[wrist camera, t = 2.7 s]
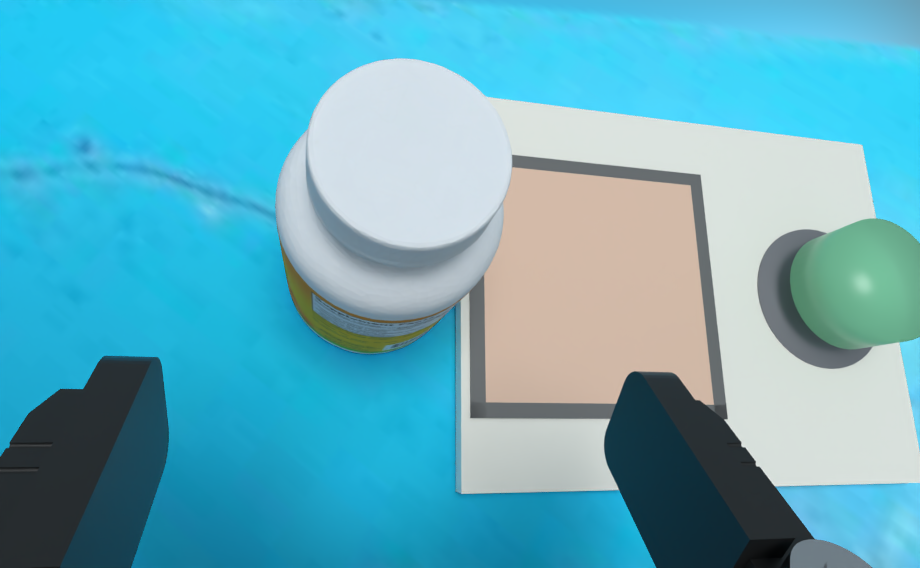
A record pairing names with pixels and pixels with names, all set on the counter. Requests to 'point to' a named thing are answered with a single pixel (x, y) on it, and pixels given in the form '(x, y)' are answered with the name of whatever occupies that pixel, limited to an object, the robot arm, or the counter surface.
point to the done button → (859, 285)
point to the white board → (666, 304)
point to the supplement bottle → (391, 203)
